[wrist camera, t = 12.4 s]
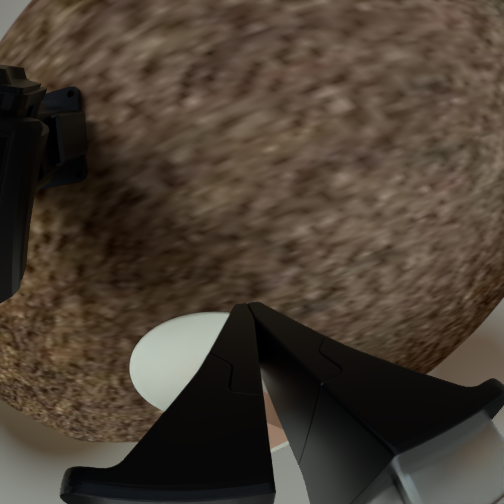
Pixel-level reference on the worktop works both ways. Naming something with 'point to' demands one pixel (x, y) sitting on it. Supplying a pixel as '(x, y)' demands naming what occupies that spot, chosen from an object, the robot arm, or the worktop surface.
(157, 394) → the cream mat
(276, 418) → the pink white tall block
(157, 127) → the worktop surface
